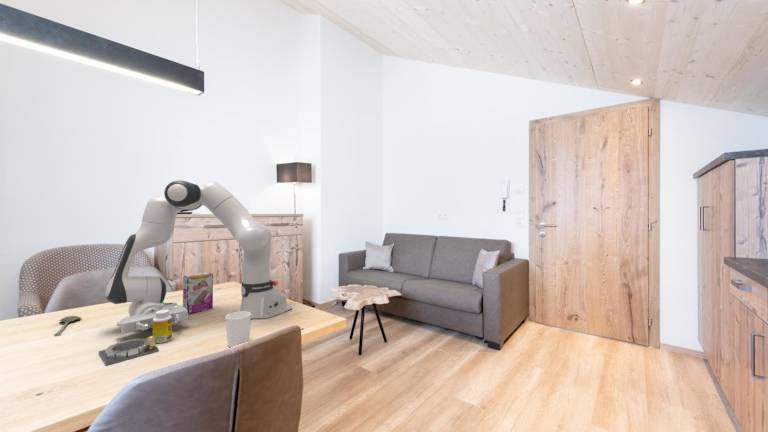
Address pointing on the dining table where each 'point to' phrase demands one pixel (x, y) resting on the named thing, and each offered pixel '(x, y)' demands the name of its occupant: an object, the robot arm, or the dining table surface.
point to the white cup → (238, 328)
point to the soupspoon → (67, 320)
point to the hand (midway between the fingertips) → (161, 323)
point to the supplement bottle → (162, 326)
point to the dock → (128, 350)
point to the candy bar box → (198, 292)
